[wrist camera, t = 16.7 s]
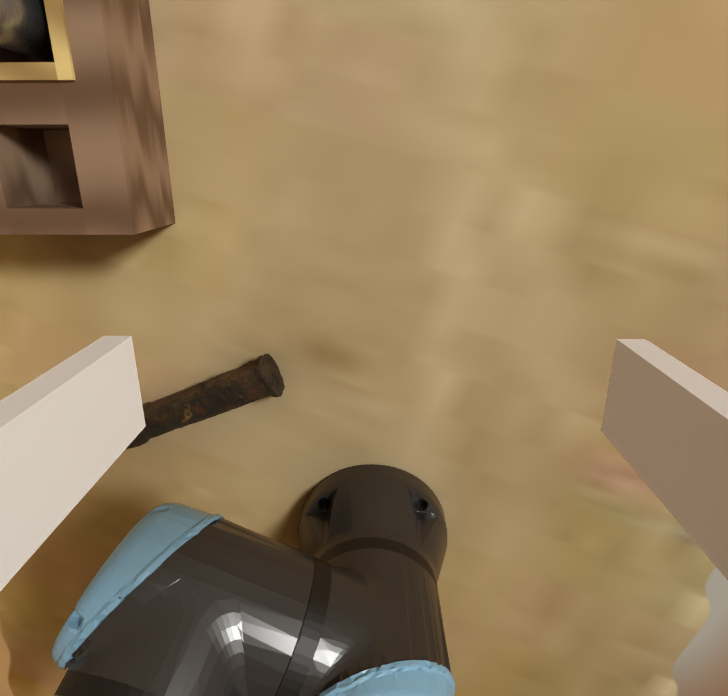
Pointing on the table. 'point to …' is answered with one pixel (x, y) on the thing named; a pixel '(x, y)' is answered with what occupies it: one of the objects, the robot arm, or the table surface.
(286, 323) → the table surface
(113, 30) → the hole block
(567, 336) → the table surface
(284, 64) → the table surface
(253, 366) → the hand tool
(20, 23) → the peg
